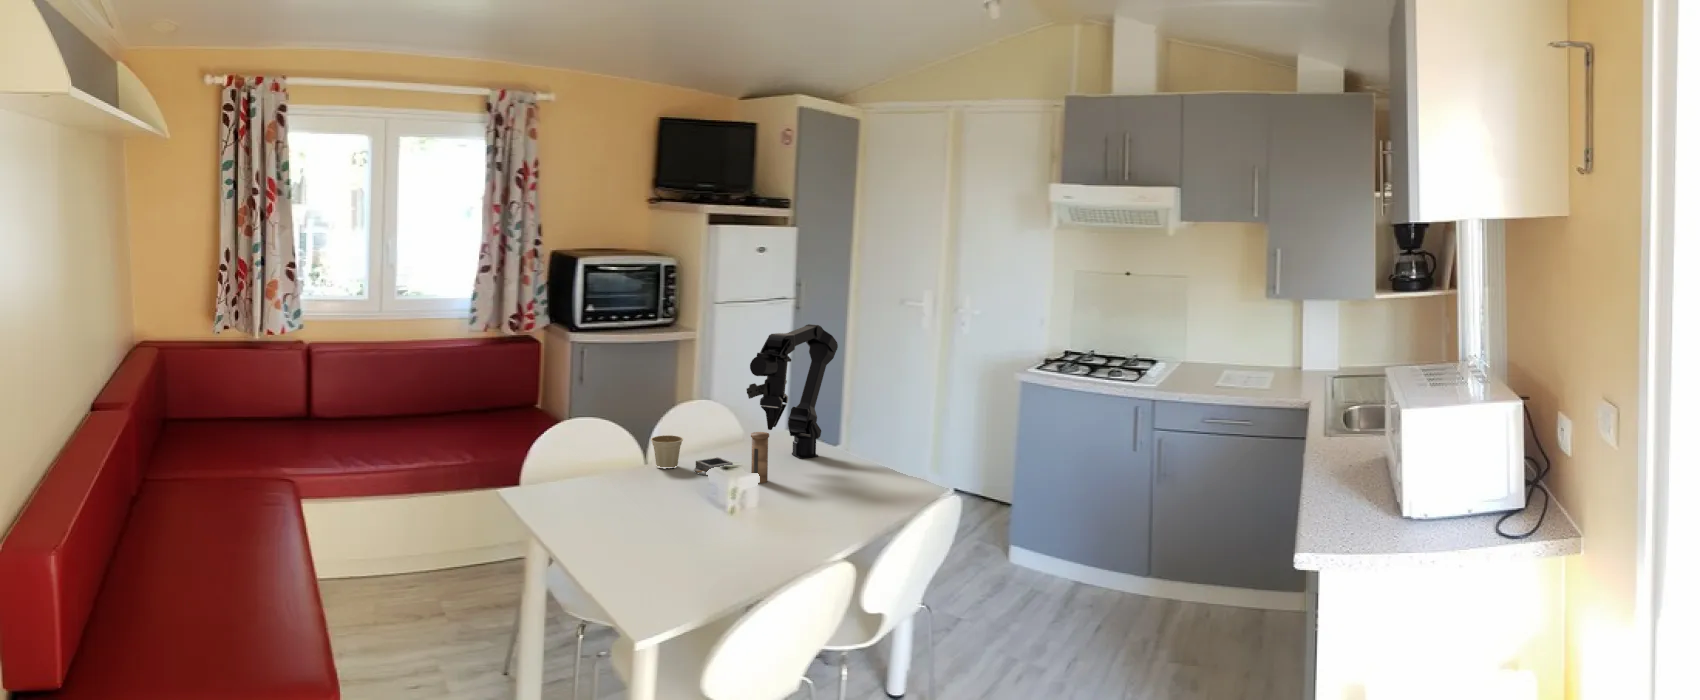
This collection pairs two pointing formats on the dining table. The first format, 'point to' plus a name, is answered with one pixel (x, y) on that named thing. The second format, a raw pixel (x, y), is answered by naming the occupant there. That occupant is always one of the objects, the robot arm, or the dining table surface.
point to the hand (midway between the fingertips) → (771, 428)
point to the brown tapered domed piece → (760, 455)
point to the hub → (709, 464)
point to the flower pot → (667, 450)
